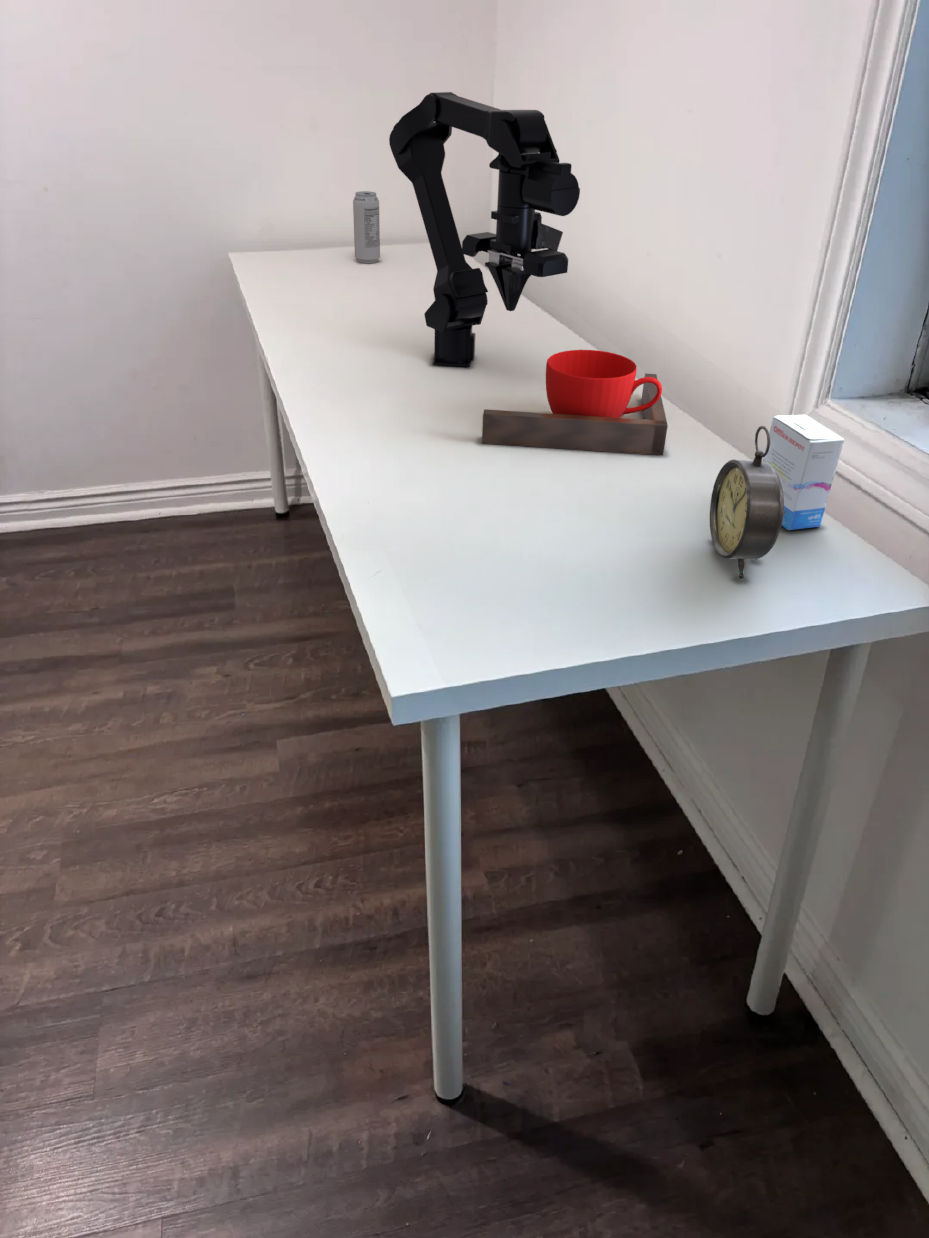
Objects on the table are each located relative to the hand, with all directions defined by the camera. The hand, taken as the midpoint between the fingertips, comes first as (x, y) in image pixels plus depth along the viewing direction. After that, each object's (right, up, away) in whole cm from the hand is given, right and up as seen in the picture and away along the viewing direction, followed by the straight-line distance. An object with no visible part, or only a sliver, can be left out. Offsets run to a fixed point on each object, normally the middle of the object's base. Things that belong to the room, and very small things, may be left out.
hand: (510, 310), depth 150 cm
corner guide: (+9, -19, -7) cm, 22 cm away
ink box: (+33, -36, -31) cm, 58 cm away
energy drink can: (-31, +36, +76) cm, 89 cm away
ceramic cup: (+13, -21, -9) cm, 26 cm away
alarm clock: (+24, -42, -41) cm, 64 cm away
